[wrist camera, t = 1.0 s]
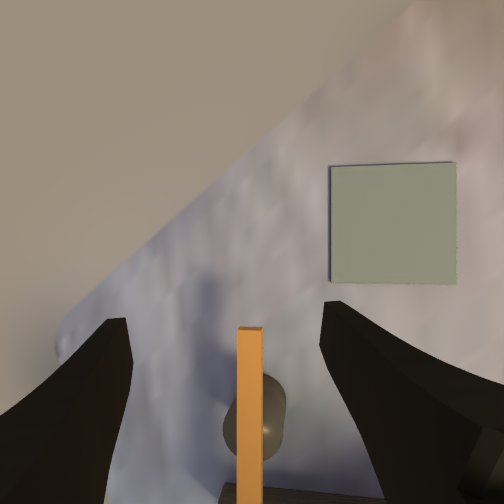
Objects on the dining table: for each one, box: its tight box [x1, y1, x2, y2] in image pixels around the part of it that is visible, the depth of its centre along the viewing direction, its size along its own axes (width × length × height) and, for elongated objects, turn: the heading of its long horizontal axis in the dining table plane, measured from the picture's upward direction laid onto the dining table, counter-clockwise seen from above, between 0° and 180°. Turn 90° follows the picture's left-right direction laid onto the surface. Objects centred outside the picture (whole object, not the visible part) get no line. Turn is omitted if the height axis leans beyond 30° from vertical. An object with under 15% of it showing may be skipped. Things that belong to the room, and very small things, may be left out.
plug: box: [223, 375, 286, 461], centre depth 25 cm, size 4×4×5 cm
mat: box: [331, 163, 457, 285], centre depth 25 cm, size 9×9×1 cm
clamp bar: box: [237, 327, 263, 504], centre depth 21 cm, size 16×2×1 cm, turn 0°
